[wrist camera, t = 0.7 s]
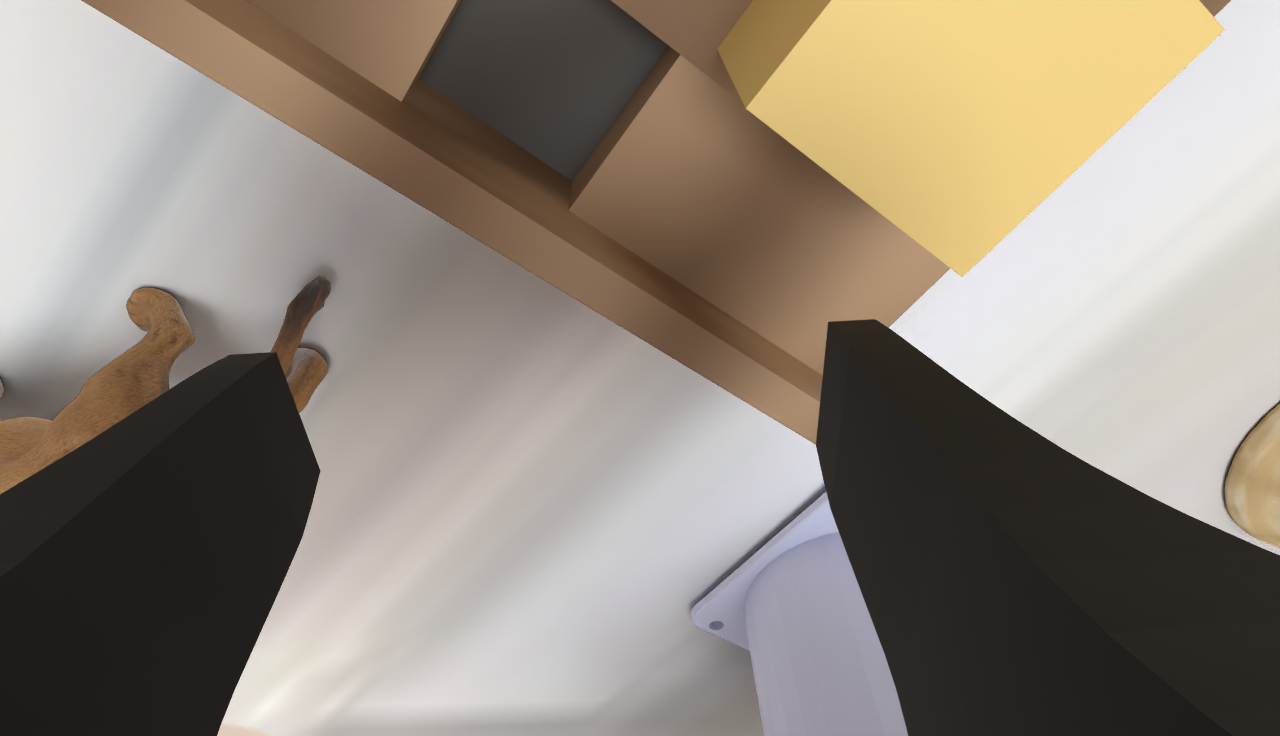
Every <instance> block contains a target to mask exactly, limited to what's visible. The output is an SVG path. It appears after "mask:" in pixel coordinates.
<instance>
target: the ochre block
mask: <svg viewBox="0 0 1280 736" xmlns="http://www.w3.org/2000/svg"><path fill="white" fill-rule="evenodd" d="M1223 31H1225V29H1224V28H1223V27H1222V26H1221V25H1220V24H1219V22H1218V21H1217V20H1216V19H1215V18H1214V17H1213V16H1212V14H1211V13H1210V12H1209V11H1208V10H1207V9H1206V7H1205V6H1204V5H1203V4H1202V3H1201V2H1200V0H753V1H752V2H751V4H750V5H749V6H748V8H747V9H746V10H745V12H744V13H743V14H742V16H741V17H740V19H739V20H738V21H737V23H736V24H735V25H734V27H733V28H732V29H731V31H730V32H729V33H728V35H727V36H726V37H725V39H724V40H723V41H722V43H721V44H720V46H719V47H718V48H717V50H718V52H719V54H720V56H721V59H722V61H723V63H724V65H725V67H726V69H727V71H728V73H729V75H730V77H731V79H732V81H733V83H734V85H735V87H736V89H737V92H738V94H739V96H740V98H741V100H742V102H743V104H744V106H745V108H746V109H747V110H748V111H750V112H751V113H752V114H753V115H755V116H756V117H757V118H759V119H760V120H761V121H762V122H764V123H765V124H766V125H768V126H769V127H770V128H771V129H773V130H774V131H775V132H776V133H778V134H779V135H780V136H782V137H783V138H784V139H785V140H787V141H788V142H789V143H791V144H792V145H793V146H794V147H796V148H797V149H798V150H800V151H801V152H802V153H803V154H805V155H806V156H807V157H809V158H810V159H811V160H812V161H814V162H815V163H816V164H818V165H819V166H820V167H821V168H823V169H824V170H825V171H826V172H828V173H829V174H830V175H832V176H833V177H834V178H835V179H837V180H838V181H839V182H841V183H842V184H843V185H844V186H846V187H847V188H848V189H850V190H851V191H852V192H853V193H855V194H856V195H857V196H859V197H860V198H861V199H862V200H864V201H865V202H866V203H868V204H869V205H870V206H871V207H873V208H874V209H875V210H876V211H878V212H879V213H880V214H882V215H883V216H884V217H885V218H887V219H888V220H889V221H891V222H892V223H893V224H894V225H896V226H897V227H898V228H900V229H901V230H902V231H903V232H905V233H906V234H907V235H909V236H910V237H911V238H912V239H914V240H915V241H916V242H918V243H919V244H920V245H921V246H923V247H924V248H925V249H926V250H928V251H929V252H930V253H932V254H933V255H934V256H935V257H937V258H938V259H939V260H941V261H942V262H943V263H944V264H946V265H947V266H948V267H950V268H951V269H952V270H953V271H955V272H956V273H957V274H959V275H960V276H961V277H963V276H964V275H965V274H966V273H967V272H968V271H969V270H970V269H971V268H973V267H974V266H975V265H976V264H977V263H978V262H979V261H980V260H981V259H982V258H983V257H984V256H985V255H986V254H987V253H988V252H990V251H991V250H992V249H993V248H994V247H995V246H996V245H997V244H998V243H999V242H1000V241H1001V240H1002V239H1003V238H1004V237H1005V236H1007V235H1008V234H1009V233H1010V232H1011V231H1012V230H1013V229H1014V228H1015V227H1016V226H1017V225H1018V224H1019V223H1020V222H1021V221H1022V220H1024V219H1025V218H1026V217H1027V216H1028V215H1029V214H1030V213H1031V212H1032V211H1033V210H1034V209H1035V208H1036V207H1037V206H1038V205H1040V204H1041V203H1042V202H1043V201H1044V200H1045V199H1046V198H1047V197H1048V196H1049V195H1050V194H1051V193H1052V192H1053V191H1054V190H1055V189H1057V188H1058V187H1059V186H1060V185H1061V184H1062V183H1063V182H1064V181H1065V180H1066V179H1067V178H1068V177H1069V176H1070V175H1071V174H1072V173H1074V172H1075V171H1076V170H1077V169H1078V168H1079V167H1080V166H1081V165H1082V164H1083V163H1084V162H1085V161H1086V160H1087V159H1088V158H1089V157H1091V156H1092V155H1093V154H1094V153H1095V152H1096V151H1097V150H1098V149H1099V148H1100V147H1101V146H1102V145H1103V144H1104V143H1105V142H1107V141H1108V140H1109V139H1110V138H1111V137H1112V136H1113V135H1114V134H1115V133H1116V132H1117V131H1118V130H1119V129H1120V128H1121V127H1122V126H1124V125H1125V124H1126V123H1127V122H1128V121H1129V120H1130V119H1131V118H1132V117H1133V116H1134V115H1135V114H1136V113H1137V112H1138V111H1139V110H1141V109H1142V108H1143V107H1144V106H1145V105H1146V104H1147V103H1148V102H1149V101H1150V100H1151V99H1152V98H1153V97H1154V96H1155V95H1156V94H1158V93H1159V92H1160V91H1161V90H1162V89H1163V88H1164V87H1165V86H1166V85H1167V84H1168V83H1169V82H1170V81H1171V80H1172V79H1173V78H1175V77H1176V76H1177V75H1178V74H1179V73H1180V72H1181V71H1182V70H1183V69H1184V68H1185V67H1186V66H1187V65H1188V64H1189V63H1191V62H1192V61H1193V60H1194V59H1195V58H1196V57H1197V56H1198V55H1199V54H1200V53H1201V52H1202V51H1203V50H1204V49H1205V48H1206V47H1208V46H1209V45H1210V44H1211V43H1212V42H1213V41H1214V40H1215V39H1216V38H1217V37H1218V36H1219V35H1220V34H1221V33H1222V32H1223Z"/></svg>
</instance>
